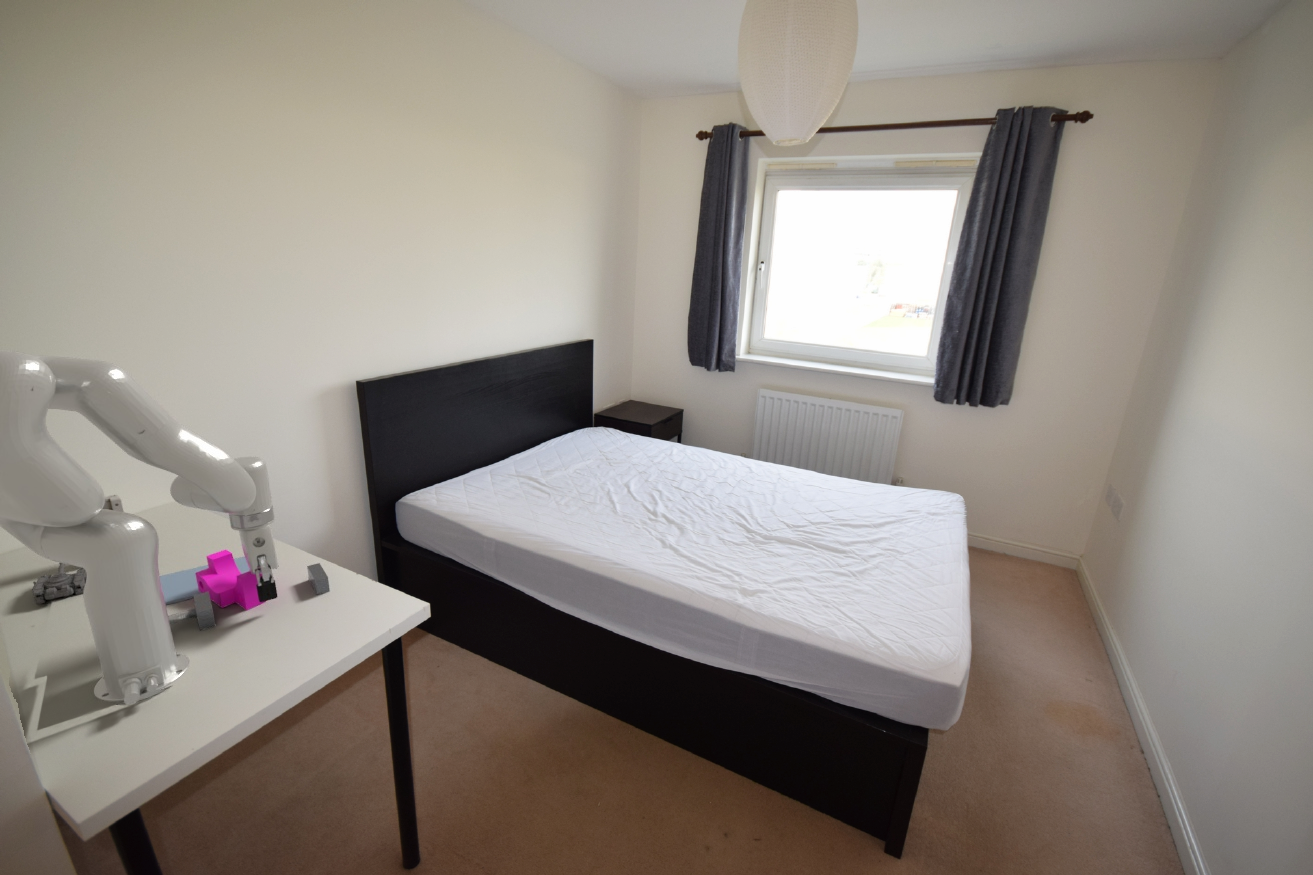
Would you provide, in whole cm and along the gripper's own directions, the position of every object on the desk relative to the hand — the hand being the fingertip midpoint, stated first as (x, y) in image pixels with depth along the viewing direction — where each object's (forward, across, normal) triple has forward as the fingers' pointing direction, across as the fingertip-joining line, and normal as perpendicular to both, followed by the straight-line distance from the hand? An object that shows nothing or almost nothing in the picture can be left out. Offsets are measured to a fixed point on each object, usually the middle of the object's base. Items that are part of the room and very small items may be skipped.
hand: (264, 589), depth 122 cm
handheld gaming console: (+3, +44, +26) cm, 51 cm away
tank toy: (+4, +32, +33) cm, 46 cm away
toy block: (+3, +6, +5) cm, 9 cm away
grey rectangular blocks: (+3, 0, 0) cm, 3 cm away
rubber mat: (+3, +18, +8) cm, 20 cm away
